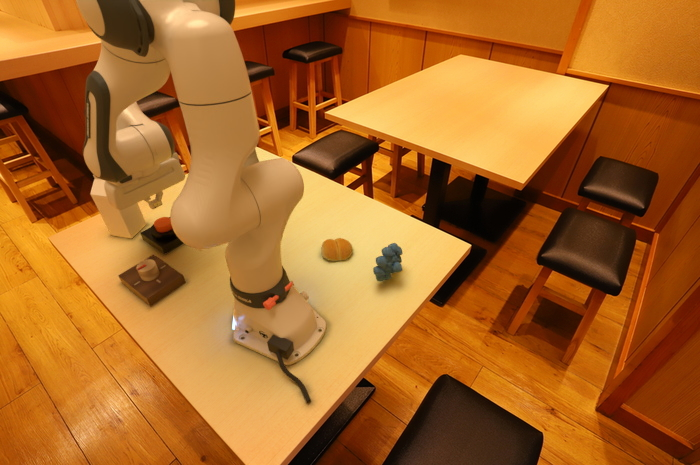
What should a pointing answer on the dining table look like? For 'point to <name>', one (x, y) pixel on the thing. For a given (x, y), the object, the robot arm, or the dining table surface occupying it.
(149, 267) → the dial knob
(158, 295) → the dial panel
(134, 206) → the milk carton
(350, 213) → the dining table surface
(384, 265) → the grapes
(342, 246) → the bread roll
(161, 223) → the round orange button
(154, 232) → the button base
